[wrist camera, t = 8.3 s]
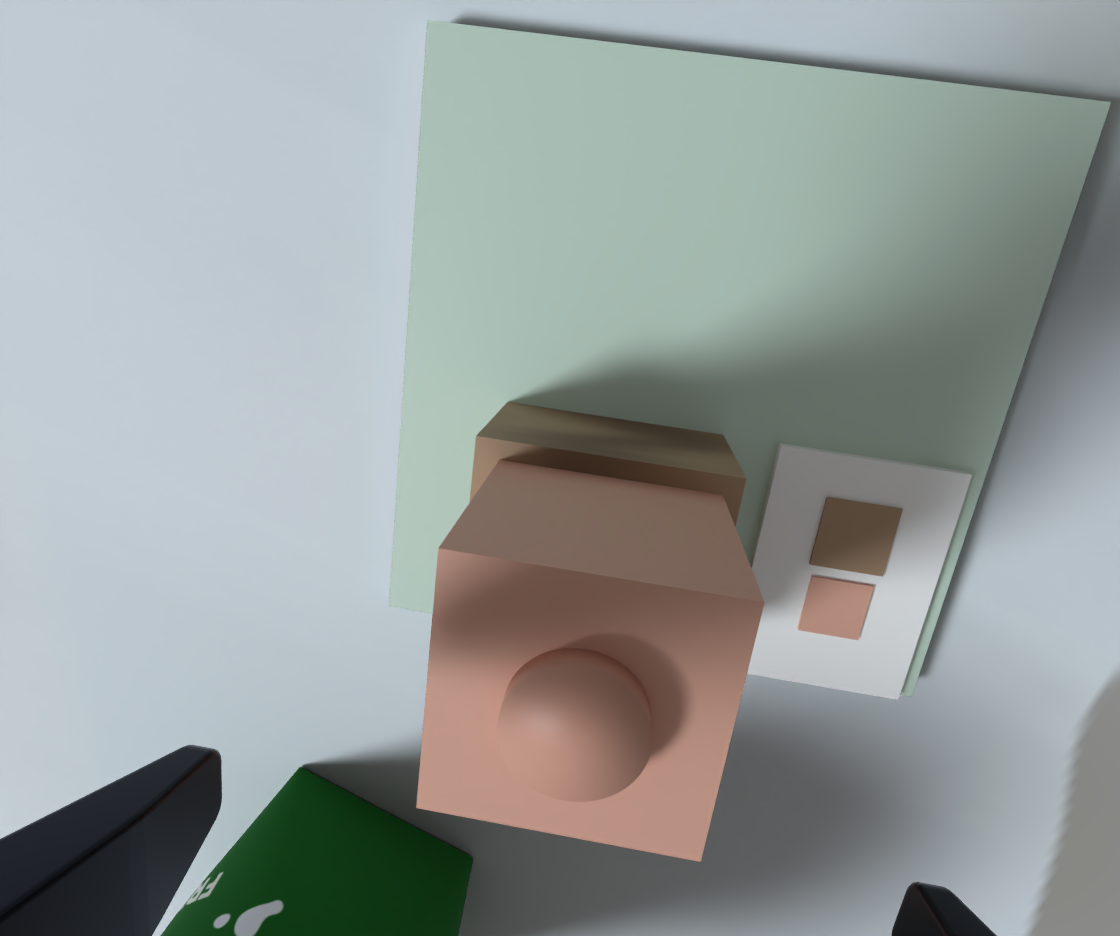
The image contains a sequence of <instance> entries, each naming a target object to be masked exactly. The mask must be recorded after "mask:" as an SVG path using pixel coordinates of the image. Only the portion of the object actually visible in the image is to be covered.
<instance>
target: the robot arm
mask: <svg viewBox="0 0 1120 936" xmlns="http://www.w3.org/2000/svg"><path fill="white" fill-rule="evenodd" d="M221 801H222V775H221V755H220V753H219V752H218V751H217V750H215V749H212V748H207V747H201V746H196V745H187V746H184V747H182V748H180V749H178V750H176V751H174V752H172V753H170V754H168V755H166V756H164V757H162V758H160V759H158V760H156V761H154V762H152V763H150V764H148V765H146V766H144V767H142V768H140V769H138V770H136V771H134V772H132V773H130V774H128V775H126V776H124V777H122V778H120V779H118V780H116V781H114V782H112V783H110V784H108V785H106V786H104V787H103V788H101V789H99V790H97V791H95V792H93V793H91V794H89V795H87V796H85V797H83V798H81V799H79V800H77V801H75V802H73V803H71V804H69V805H67V806H65V807H63V808H61V809H59V810H57V811H55V812H53V813H51V814H49V815H47V816H45V817H43V818H41V819H39V820H37V821H35V822H33V823H31V824H29V825H27V826H25V827H23V828H21V829H19V830H17V831H15V832H13V833H11V834H9V835H7V836H5V837H3V838H2V839H0V936H152V935H153V933H154V931H155V929H156V928H157V926H158V924H159V922H160V921H161V919H162V917H163V915H164V913H165V912H166V910H167V908H168V906H169V904H170V902H171V901H172V899H173V897H174V895H175V893H176V891H177V890H178V888H179V886H180V884H181V882H182V880H183V879H184V877H185V875H186V873H187V871H188V869H189V868H190V866H191V864H192V862H193V860H194V858H195V857H196V855H197V853H198V851H199V849H200V847H201V846H202V844H203V842H204V840H205V838H206V836H207V835H208V833H209V831H210V829H211V827H212V825H213V824H214V822H215V820H216V818H217V815H218V813H219V810H220V807H221ZM892 936H996V935H995V934H994V933H993V932H992V931H991V930H990V929H989V928H988V927H987V926H986V925H985V924H984V923H983V922H982V921H981V920H980V919H979V918H978V917H977V916H976V915H975V914H974V913H973V912H972V911H971V910H970V909H969V908H968V907H967V906H966V905H965V904H964V903H963V902H962V901H961V900H960V899H959V898H958V897H957V896H956V895H955V894H953V893H952V892H951V891H950V890H948V889H947V888H944V887H941V886H936V885H931V884H926V883H920V882H914V883H912V884H911V885H910V886H909V887H908V889H907V891H906V894H905V896H904V899H903V902H902V904H901V907H900V910H899V913H898V915H897V918H896V921H895V924H894V926H893V930H892Z"/></svg>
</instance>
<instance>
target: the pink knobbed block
mask: <svg viewBox="0 0 1120 936" xmlns="http://www.w3.org/2000/svg"><path fill="white" fill-rule="evenodd" d="M764 603H765V602H764V599H763V597H762V594H761V592H760V589H759V587H758V584H757V581H756V579H755V576H754V574H753V571H752V569H751V566H750V564H749V561H748V558H747V556H746V553H745V551H744V548H743V546H742V543H741V540H740V538H739V535H738V533H737V530H736V528H735V525H734V522H733V520H732V517H731V515H730V512H729V510H728V507H727V504H726V502H725V499H724V497H723V495H720V494H714V493H707V492H701V491H695V490H688V489H682V488H675V487H669V486H663V485H656V484H650V483H643V482H637V481H631V480H624V479H618V478H612V477H605V476H599V475H592V474H586V473H580V472H573V471H567V470H560V469H554V468H548V467H541V466H535V465H529V464H522V463H516V462H509V461H503V460H499V461H498V463H497V464H496V465H495V467H494V468H493V470H492V471H491V473H490V474H489V476H488V477H487V478H486V480H485V481H484V483H483V484H482V486H481V487H480V489H479V490H478V491H477V493H476V494H475V496H474V497H473V499H472V500H471V502H470V503H469V504H468V506H467V507H466V509H465V510H464V512H463V513H462V515H461V516H460V517H459V519H458V520H457V522H456V523H455V525H454V526H453V528H452V529H451V530H450V532H449V533H448V535H447V536H446V538H445V539H444V541H443V542H442V543H441V545H440V546H439V548H438V556H437V568H436V580H435V592H434V604H433V615H432V627H431V639H430V651H429V663H428V674H427V686H426V698H425V710H424V722H423V734H422V745H421V757H420V769H419V781H418V793H417V804H416V808H419V809H424V810H429V811H435V812H440V813H445V814H451V815H456V816H461V817H466V818H472V819H477V820H482V821H487V822H493V823H498V824H503V825H508V826H514V827H519V828H524V829H530V830H535V831H540V832H545V833H551V834H556V835H561V836H566V837H572V838H577V839H582V840H588V841H593V842H598V843H603V844H609V845H614V846H619V847H624V848H630V849H635V850H640V851H645V852H651V853H656V854H661V855H667V856H672V857H677V858H682V859H688V860H693V861H698V862H701V859H702V855H703V851H704V846H705V842H706V838H707V834H708V830H709V826H710V822H711V818H712V814H713V810H714V806H715V802H716V798H717V794H718V790H719V786H720V782H721V777H722V773H723V769H724V765H725V761H726V757H727V753H728V749H729V745H730V741H731V737H732V733H733V729H734V725H735V721H736V717H737V712H738V708H739V704H740V700H741V696H742V692H743V688H744V684H745V680H746V676H747V672H748V668H749V664H750V660H751V656H752V652H753V647H754V643H755V639H756V635H757V631H758V627H759V623H760V619H761V615H762V611H763V607H764Z"/></svg>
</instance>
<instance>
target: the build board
mask: <svg viewBox="0 0 1120 936" xmlns="http://www.w3.org/2000/svg"><path fill="white" fill-rule="evenodd" d="M1110 104H1111V102H1107V101H1099V100H1090V99H1082V98H1074V97H1065V96H1057V95H1049V94H1040V93H1032V92H1024V91H1015V90H1007V89H999V88H990V87H982V86H973V85H965V84H957V83H948V82H940V81H932V80H923V79H915V78H907V77H898V76H890V75H882V74H873V73H865V72H857V71H848V70H840V69H832V68H823V67H815V66H807V65H798V64H790V63H781V62H773V61H765V60H756V59H748V58H740V57H731V56H723V55H715V54H706V53H698V52H690V51H681V50H673V49H665V48H656V47H648V46H640V45H631V44H623V43H615V42H606V41H598V40H590V39H581V38H573V37H564V36H556V35H548V34H539V33H531V32H523V31H514V30H506V29H498V28H489V27H481V26H473V25H464V24H456V23H448V22H439V21H431V20H427V29H426V45H425V60H424V75H423V91H422V106H421V121H420V137H419V152H418V167H417V183H416V198H415V213H414V229H413V244H412V259H411V275H410V290H409V305H408V321H407V336H406V351H405V367H404V382H403V397H402V413H401V428H400V443H399V459H398V474H397V489H396V505H395V520H394V535H393V551H392V566H391V581H390V597H389V606H391V607H396V608H402V609H408V610H414V611H420V612H425V613H431V614H433V604H434V592H435V580H436V568H437V556H438V548H439V546H440V545H441V543H442V542H443V541H444V539H445V538H446V536H447V535H448V533H449V532H450V530H451V529H452V528H453V526H454V525H455V523H456V522H457V520H458V519H459V517H460V516H461V515H462V513H463V512H464V510H465V509H466V507H467V506H468V504H469V501H470V491H471V481H472V471H473V461H474V451H475V441H476V435H477V434H478V433H479V432H480V431H481V430H482V429H483V428H484V427H485V426H486V425H487V423H488V422H489V421H490V420H491V419H492V418H493V417H494V416H495V415H496V414H497V413H498V412H499V411H500V409H501V408H502V407H503V406H504V405H505V404H506V403H507V402H513V403H519V404H526V405H532V406H539V407H545V408H552V409H559V410H565V411H572V412H578V413H585V414H591V415H598V416H604V417H611V418H617V419H624V420H630V421H637V422H643V423H650V424H656V425H663V426H669V427H676V428H682V429H689V430H695V431H702V432H709V433H715V434H722V435H724V437H725V439H726V441H727V443H728V445H729V446H730V448H731V450H732V452H733V454H734V456H735V458H736V460H737V462H738V463H739V465H740V467H741V469H742V471H743V473H744V475H745V477H746V483H745V487H744V491H743V496H742V500H741V505H740V509H739V514H738V518H737V522H736V527H735V528H736V530H737V533H738V535H739V538H740V540H741V543H742V546H743V548H744V551H745V553H746V556H747V558H748V561H749V564H750V566H751V569H752V571H753V574H754V576H755V579H756V581H757V584H758V587H759V589H760V592H761V594H762V597H763V599H764V602H765V603H764V607H763V611H762V615H761V619H760V623H759V627H758V631H757V635H756V639H755V643H754V647H753V652H752V656H751V660H750V664H749V668H748V672H747V674H751V675H757V676H763V677H768V678H774V679H780V680H786V681H791V682H797V683H803V684H809V685H814V686H820V687H826V688H832V689H837V690H843V691H849V692H855V693H860V694H866V695H872V696H878V697H883V698H889V699H895V700H898V699H899V696H900V695H903V696H909V697H912V694H913V691H914V688H915V685H916V682H917V679H918V676H919V673H920V670H921V667H922V664H923V661H924V658H925V655H926V652H927V649H928V646H929V643H930V640H931V637H932V635H933V632H934V629H935V626H936V623H937V620H938V617H939V614H940V611H941V608H942V605H943V602H944V599H945V596H946V593H947V590H948V587H949V584H950V581H951V578H952V575H953V572H954V569H955V566H956V563H957V560H958V557H959V554H960V551H961V548H962V545H963V542H964V539H965V536H966V533H967V530H968V527H969V524H970V521H971V518H972V515H973V512H974V509H975V506H976V503H977V501H978V498H979V495H980V492H981V489H982V486H983V483H984V480H985V477H986V474H987V471H988V468H989V465H990V462H991V459H992V456H993V453H994V450H995V447H996V444H997V441H998V438H999V435H1000V432H1001V429H1002V426H1003V423H1004V420H1005V417H1006V414H1007V411H1008V408H1009V405H1010V402H1011V399H1012V396H1013V393H1014V390H1015V387H1016V384H1017V381H1018V378H1019V375H1020V372H1021V369H1022V367H1023V364H1024V361H1025V358H1026V355H1027V352H1028V349H1029V346H1030V343H1031V340H1032V337H1033V334H1034V331H1035V328H1036V325H1037V322H1038V319H1039V316H1040V313H1041V310H1042V307H1043V304H1044V301H1045V298H1046V295H1047V292H1048V289H1049V286H1050V283H1051V280H1052V277H1053V274H1054V271H1055V268H1056V265H1057V262H1058V259H1059V256H1060V253H1061V250H1062V247H1063V244H1064V241H1065V238H1066V236H1067V233H1068V230H1069V227H1070V224H1071V221H1072V218H1073V215H1074V212H1075V209H1076V206H1077V203H1078V200H1079V197H1080V194H1081V191H1082V188H1083V185H1084V182H1085V179H1086V176H1087V173H1088V170H1089V167H1090V164H1091V161H1092V158H1093V155H1094V152H1095V149H1096V146H1097V143H1098V140H1099V137H1100V134H1101V131H1102V128H1103V125H1104V122H1105V119H1106V116H1107V113H1108V110H1109V107H1110Z"/></svg>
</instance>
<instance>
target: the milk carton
mask: <svg viewBox="0 0 1120 936" xmlns="http://www.w3.org/2000/svg"><path fill="white" fill-rule="evenodd" d="M472 862H473V857H471V856H469V855H467V854H465V853H463V852H462V851H460V850H458V849H456V848H454V847H452V846H450V845H448V844H446V843H444V842H443V841H441V840H439V839H437V838H435V837H433V836H431V835H429V834H427V833H425V832H424V831H422V830H420V829H418V828H416V827H414V826H412V825H410V824H408V823H406V822H405V821H403V820H401V819H399V818H397V817H395V816H393V815H391V814H389V813H387V812H385V811H384V810H382V809H380V808H378V807H376V806H374V805H372V804H370V803H368V802H366V801H365V800H363V799H361V798H359V797H357V796H355V795H353V794H351V793H349V792H347V791H346V790H344V789H342V788H340V787H338V786H336V785H334V784H332V783H330V782H328V781H327V780H325V779H323V778H321V777H319V776H317V775H315V774H313V773H311V772H309V771H307V770H306V769H304V768H301V767H300V768H299V769H298V770H297V771H296V772H295V773H294V775H293V776H292V777H291V778H290V779H289V781H288V782H287V783H286V784H285V785H284V787H283V788H282V789H281V790H280V791H279V793H278V794H277V795H276V796H275V797H274V798H273V800H272V801H271V802H270V803H269V804H268V806H267V807H266V808H265V809H264V810H263V811H262V813H261V814H260V815H259V816H258V817H257V819H256V820H255V821H254V822H253V823H252V824H251V826H250V827H249V828H248V829H247V830H246V832H245V833H244V834H243V835H242V836H241V837H240V839H239V840H238V841H237V842H236V843H235V845H234V846H233V847H232V848H231V849H230V850H229V852H228V853H227V854H226V855H225V856H224V858H223V859H222V860H221V861H220V862H219V863H218V865H217V866H216V867H215V868H214V869H213V871H212V872H211V873H210V874H209V875H208V876H207V878H206V879H205V880H204V881H203V882H202V884H201V885H200V886H199V887H198V888H197V890H196V891H195V892H194V893H193V894H192V896H191V897H190V898H189V899H188V900H187V902H186V903H185V904H184V905H183V907H182V908H181V909H180V911H179V912H178V913H177V914H176V916H175V917H174V918H173V920H172V921H171V922H170V924H169V925H168V926H167V928H166V929H165V931H164V932H163V933H162V935H161V936H458V933H459V928H460V923H461V918H462V913H463V907H464V902H465V897H466V892H467V887H468V882H469V876H470V872H471V867H472Z"/></svg>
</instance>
